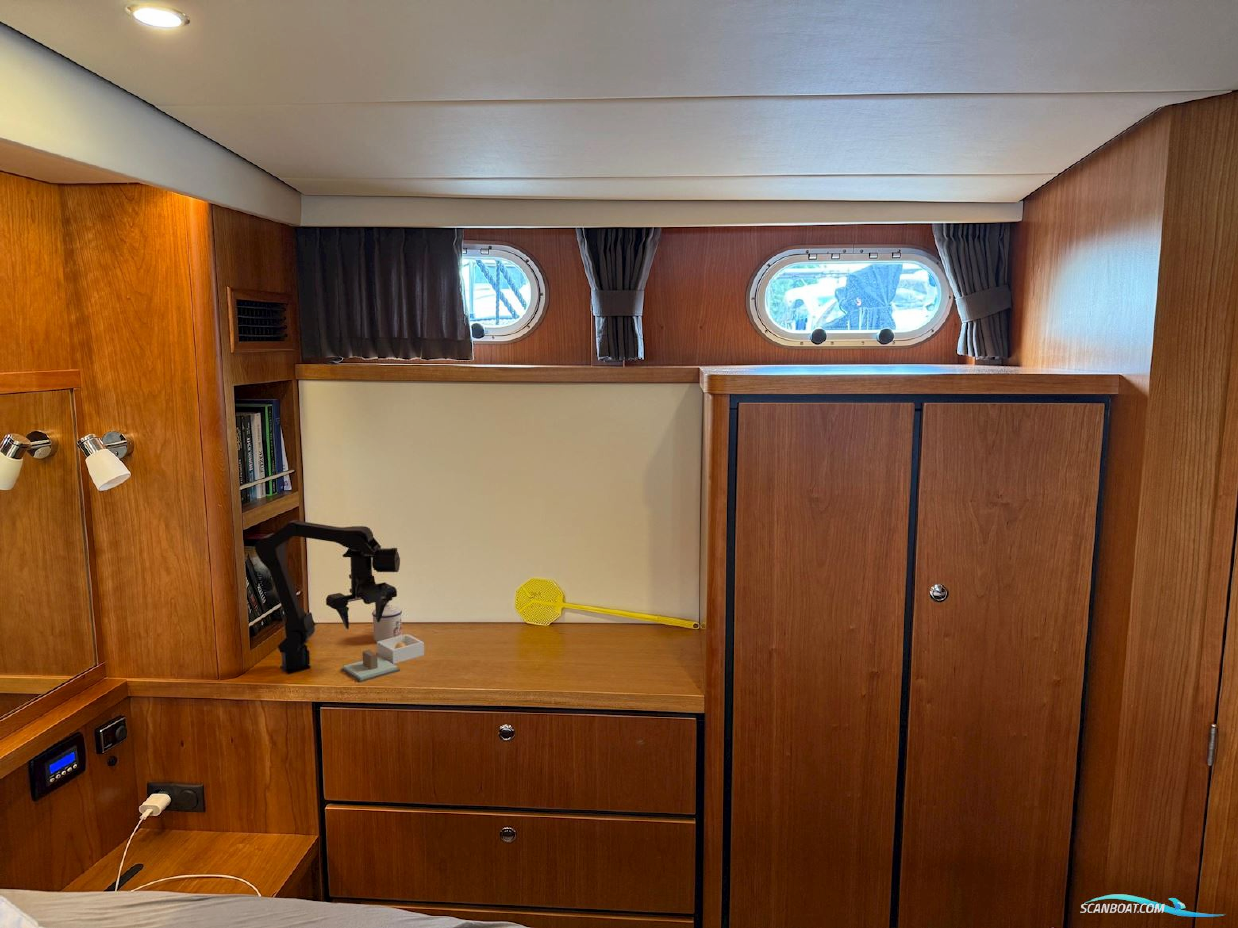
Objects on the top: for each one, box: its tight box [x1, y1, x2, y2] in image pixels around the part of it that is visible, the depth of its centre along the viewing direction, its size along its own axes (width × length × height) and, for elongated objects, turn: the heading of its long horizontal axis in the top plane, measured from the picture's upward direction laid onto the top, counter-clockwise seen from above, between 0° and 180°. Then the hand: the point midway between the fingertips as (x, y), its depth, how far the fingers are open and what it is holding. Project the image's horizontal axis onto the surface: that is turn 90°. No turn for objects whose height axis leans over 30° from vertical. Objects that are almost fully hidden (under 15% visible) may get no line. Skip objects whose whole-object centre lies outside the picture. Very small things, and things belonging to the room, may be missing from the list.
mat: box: [340, 667, 401, 683], centre depth 222 cm, size 12×12×1 cm
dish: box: [376, 633, 425, 665], centre depth 234 cm, size 10×10×4 cm
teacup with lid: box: [371, 601, 403, 643], centre depth 249 cm, size 12×9×12 cm
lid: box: [342, 649, 398, 680], centre depth 222 cm, size 11×11×5 cm
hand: (362, 625), depth 223 cm, fingers open, 9 cm apart
